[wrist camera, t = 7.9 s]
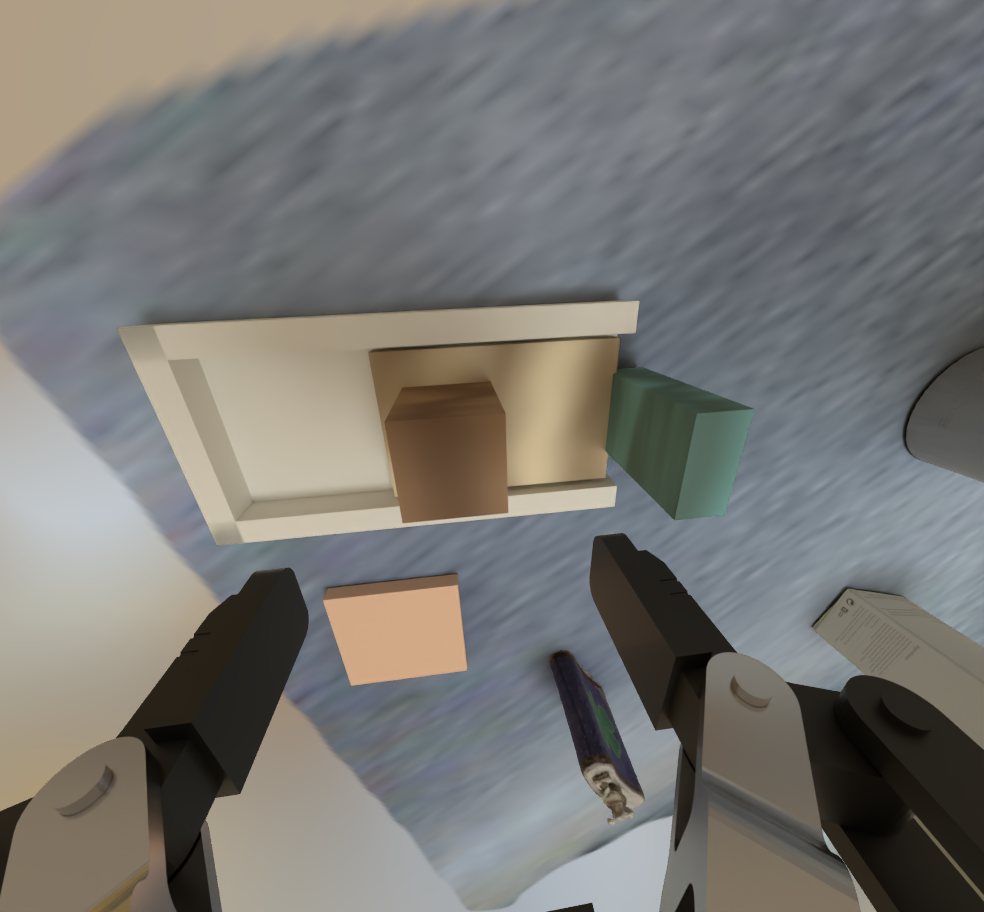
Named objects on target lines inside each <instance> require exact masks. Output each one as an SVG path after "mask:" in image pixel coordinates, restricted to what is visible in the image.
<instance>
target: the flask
mask: <svg viewBox="0 0 984 912" xmlns="http://www.w3.org/2000/svg"><path fill="white" fill-rule="evenodd" d="M549 662H550V666H551V669H552V672H553V674H554V678H555V681H556V684H557V687H558V690H559V694H560V698H561V701H562V704H563V707H564V711H565V715H566V719H567V722H568V725H569V728H570V732H571V735H572V739H573V742H574V746H575V749H576V753H577V757H578V761H579V765H580V768H581V772H582V774H583V776H584V777H585V779H586V781H587V783H588V784H589V786H590V787H591V788H592V789H593V791H594V792H595V793H596V794H598V795H599V796H600V797H601V798H602V800H603V801H604V803H605V804H606V806H607V807H608V808H610V809H611V810H612V814H613V818H614V819H616V820H618V821H624V820H625V819H626V818H627V817H629V818H634V812H633V811H632V810H631V809H633V808H635V807H637V806H639V805H641V804H642V802H644V801H645V798H644V794H643V791H642V788H641V786H640V784H639V782H638V779H637V776H636V774H635V772H634V769H633V767H632V764H631V761H630V759H629V757H628V754H627V752H626V749H625V747H624V744H623V742H622V739H621V736H620V734H619V731H618V729H617V726H616V724H615V721H614V718H613V715H612V713H611V710H610V707H609V705H608V703H607V700H606V696H605V694H604V692H603V690H602V689H601V687H600V684H599V683H597V684H596V683H595V682H594V680H593V679H592V676H591V675H590V673H588V671H585V670H582V668H581V666H582V665H579V664H578V663H577V659H575V657H574V656H573V654H572V653H571V652H568V651H567V652H566V651H562V650H560V651H559V652H557V653H555V654H553V655H552V656H551V657H550V661H549ZM608 824H609V825H612V824H613V825H615V820H613V819H608Z"/></svg>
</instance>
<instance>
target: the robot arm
mask: <svg viewBox="0 0 984 912" xmlns="http://www.w3.org/2000/svg"><path fill="white" fill-rule="evenodd" d="M906 441H907V446H908V449H909V450H910V452H911V454H912V455H913V456H915V457H916V458H917V459H919V460H922V461H925V462H927V463H930V464H933V465H936V466H939V467H942V468H944V469H947V470H950V471H953V472H956V473H959V474H961V475H964V476H967V477H970V478H973V479H976V480H978V481H981V482H984V348H981V349H978V350H976V351H974V352H972V353H970V354H968V355H966V356H964V357H963V358H961V359H960V360H959V361H957V362H956V363H954V364H953V365H951V366H950V367H949V368H948V369H947V370H945V371H944V372H943V373H942V374H941V375H940V376H939V377H938V378H937V379H936V380H935V381H934V382H933V383H932V384H931V385H930V386H929V388H928V389H927V390H926V391H925V392H924V394H923V395H922V397H921V398H920V400H919V401H918V403H917V404H916V406H915V408H914V410H913V412H912V414H911V416H910V420H909V423H908V426H907V433H906ZM590 589H591V593H592V597H593V600H594V602H595V604H596V607H597V609H598V611H599V613H600V615H601V617H602V619H603V621H604V623H605V625H606V627H607V630H608V632H609V634H610V636H611V638H612V640H613V642H614V644H615V646H616V648H617V651H618V653H619V655H620V657H621V659H622V661H623V663H624V665H625V667H626V669H627V672H628V674H629V676H630V678H631V680H632V682H633V684H634V686H635V688H636V690H637V693H638V695H639V697H640V699H641V701H642V703H643V705H644V707H645V709H646V711H647V714H648V716H649V718H650V720H651V722H652V724H653V726H654V728H655V730H662V729H669V728H674V730H675V732H676V734H677V736H678V738H679V740H680V742H681V745H680V749H679V758H678V768H677V778H676V789H675V799H674V809H673V820H672V831H671V840H670V850H669V858H668V865H667V870H666V875H665V879H664V885H663V890H662V896H661V904H660V911H659V912H861V911H860V906H859V902H858V898H857V894H856V890H855V887H854V884H853V880H852V878H851V875H850V873H849V871H848V869H847V867H848V868H849V870H850V871H851V873H852V875H853V876H854V878H855V879H856V881H857V882H858V884H859V885H860V887H861V888H862V889H863V891H864V893H865V894H866V896H867V897H868V899H869V900H870V902H871V903H872V905H873V906H874V908H875V910H876V911H877V912H984V901H983V900H982V899H981V897H980V896H979V895H978V894H977V893H976V891H975V890H974V889H973V888H972V887H971V885H970V884H969V883H968V882H967V881H966V880H965V878H964V877H963V876H962V875H961V874H960V872H959V871H958V870H957V869H956V868H955V866H954V865H953V864H952V863H951V862H950V861H949V859H948V858H947V857H946V856H945V855H944V853H943V852H942V851H941V850H940V849H939V848H938V846H937V845H936V844H935V843H934V842H933V840H932V839H931V838H930V837H929V836H928V834H927V833H926V832H925V831H924V830H923V829H922V827H921V826H920V825H919V824H918V823H917V821H916V820H915V819H914V818H913V817H914V816H915V815H916V816H917V817H918V819H919V820H920V821H921V822H922V823H923V824H924V826H925V827H926V828H927V829H928V830H929V832H930V833H931V834H932V835H933V836H934V837H935V839H936V840H937V841H938V842H939V843H940V844H941V846H942V847H943V848H944V849H945V850H946V851H947V853H948V854H949V855H950V856H951V857H952V859H953V860H954V861H955V862H956V863H957V864H958V866H959V867H960V868H961V869H962V870H963V871H964V873H965V874H966V875H967V876H968V877H969V879H970V880H971V881H972V882H973V883H974V884H975V886H976V887H977V888H978V889H979V890H980V891H981V893H982V894H983V895H984V749H982V748H981V747H980V746H979V745H978V744H977V743H976V742H975V741H973V740H972V739H971V738H970V737H969V736H968V735H967V734H966V733H964V732H963V731H962V730H961V729H960V728H959V727H958V726H957V725H955V724H954V723H953V722H952V721H951V720H950V719H949V718H948V717H947V716H945V715H944V714H943V713H942V712H941V711H940V710H938V709H937V708H936V707H935V706H933V705H932V704H931V703H929V702H928V701H927V700H925V699H924V698H922V697H921V696H919V695H917V694H916V693H914V692H912V691H911V690H909V689H907V688H905V687H903V686H901V685H899V684H896V683H894V682H891V681H889V680H886V679H883V678H879V677H875V676H868V675H859V676H855V677H853V678H850V679H849V681H848V682H847V683H846V685H845V686H844V688H843V690H842V691H841V692H837V691H832V690H826V689H821V688H815V687H810V686H804V685H799V684H793V683H789V682H785V681H784V680H783V679H782V678H781V677H780V676H779V675H778V674H777V673H776V672H775V671H773V670H772V669H771V668H769V667H768V666H766V665H765V664H763V663H762V662H760V661H758V660H756V659H754V658H751V657H749V656H746V655H743V654H739V653H737V652H736V651H735V650H734V648H733V647H732V646H731V645H730V644H729V642H728V641H727V640H726V639H725V637H724V636H723V635H722V634H721V632H720V631H719V630H718V629H717V627H716V626H715V625H714V624H713V623H712V621H711V620H710V619H709V618H708V616H707V615H706V614H705V613H704V611H703V610H702V609H701V608H700V606H699V605H698V604H697V603H696V601H695V600H694V599H693V598H692V596H691V595H688V593H687V590H686V589H685V588H684V587H683V585H682V584H681V583H680V582H679V581H677V578H676V577H675V575H674V574H673V573H672V572H671V570H670V569H669V568H668V567H667V565H666V564H665V563H664V562H663V561H661V560H660V559H658V558H657V557H655V556H654V555H652V554H651V553H650V552H648V551H647V550H643V551H638V550H637V549H636V548H635V546H634V545H633V544H632V542H631V541H630V540H629V538H628V537H627V536H626V535H625V534H623V533H619V534H610V535H601V536H596V537H595V538H594V541H593V550H592V560H591V569H590ZM308 622H309V616H308V610H307V607H306V604H305V601H304V599H303V596H302V593H301V590H300V587H299V585H298V582H297V579H296V576H295V574H294V572H293V570H292V569H291V568H280V569H271V570H261V571H256V572H254V573H253V574H252V575H251V576H250V578H249V579H248V581H247V582H246V584H245V585H244V586H243V588H242V589H241V591H240V592H239V594H237V595H231V596H230V597H229V598H227V599H226V600H225V601H224V602H223V603H221V604H220V605H219V606H218V607H217V608H215V609H214V610H213V611H212V612H211V613H209V615H208V616H207V617H206V619H205V620H204V621H203V623H202V624H201V625H200V627H199V628H198V630H197V631H196V632H195V633H194V638H193V639H190V640H189V642H188V643H187V644H186V646H185V647H184V648H183V650H182V651H181V655H180V657H177V658H176V659H175V660H174V662H173V663H172V664H171V666H170V667H169V668H168V670H167V671H166V672H165V674H164V675H163V676H162V678H161V679H160V680H159V682H158V683H157V684H156V686H155V687H154V688H153V690H152V691H151V693H150V694H149V695H148V696H147V698H146V699H145V700H144V702H143V703H142V704H141V706H140V707H139V709H138V710H137V711H136V713H135V714H134V715H133V717H132V718H131V719H130V721H129V722H128V723H127V725H126V726H125V727H124V729H123V730H122V731H121V732H120V734H119V735H118V736H117V737H116V739H113V740H109V741H107V742H104V743H102V744H100V745H98V746H96V747H94V748H92V749H90V750H88V751H87V752H85V753H83V754H82V755H80V756H79V757H77V758H76V759H75V760H73V761H72V762H70V763H69V764H68V765H66V766H65V767H64V768H63V769H61V770H60V771H59V772H58V773H57V774H56V775H54V776H53V777H52V778H51V779H50V780H49V781H48V782H47V783H46V784H45V785H44V786H43V787H42V788H41V789H40V790H39V792H38V793H37V794H36V795H35V796H34V797H33V798H30V799H28V800H26V801H23V802H21V803H19V804H16V805H14V806H12V807H9V808H7V809H5V810H2V811H0V912H222V908H221V902H220V896H219V889H218V883H217V876H216V870H215V864H214V857H213V851H212V844H211V838H210V832H209V827H208V823H207V822H206V820H205V819H206V817H207V815H208V812H209V810H210V808H211V806H212V804H213V802H214V799H215V798H217V797H224V796H230V795H237V794H240V793H241V791H242V788H243V786H244V783H245V781H246V778H247V776H248V774H249V771H250V769H251V767H252V764H253V762H254V759H255V757H256V754H257V752H258V750H259V747H260V745H261V742H262V740H263V738H264V735H265V733H266V730H267V728H268V726H269V723H270V721H271V718H272V716H273V714H274V711H275V709H276V706H277V704H278V702H279V699H280V697H281V694H282V692H283V690H284V687H285V685H286V682H287V680H288V678H289V675H290V673H291V670H292V668H293V666H294V663H295V661H296V658H297V656H298V654H299V651H300V649H301V646H302V644H303V641H304V639H305V637H306V634H307V630H308ZM821 827H822V828H821ZM822 829H823V830H824V832H825V833H826V835H827V836H828V838H829V839H830V841H831V842H832V844H833V846H834V847H835V849H836V850H837V852H838V853H839V855H840V856H841V857H842V859H843V861H844V862H845V863H844V862H843V861H842V859H841V858H840V857H839V856H837V855H835V854H834V853H832V852H830V850H829V849H828V847H827V845H826V843H825V840H824V837H823V833H822ZM845 864H846V865H847V867H846V865H845ZM548 912H594V908H593V905H592V903H588V904H584V905H579V906H573V907H568V908H563V909H559V910H553V911H548Z"/></svg>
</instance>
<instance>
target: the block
mask: <svg viewBox="0 0 984 912" xmlns="http://www.w3.org/2000/svg"><path fill="white" fill-rule="evenodd" d="M384 424H385V429H386V435H387V440H388V446H389V451H390V457H391V462H392V468H393V473H394V479H395V484H396V490H397V495H398V501H399V506H400V512H401V517H402V523H412V522H422V521H432V520H442V519H453V518H463V517H473V516H483V515H494V514H504V513H508V484H507V448H506V413H505V411H504V409H503V407H502V405H501V402H500V400H499V398H498V396H497V394H496V392H495V390H494V387H493V385H492V383H491V381H490V382H475V383H461V384H446V385H431V386H416V387H402V389H401V391H400V393H399V395H398V397H397V399H396V401H395V403H394V404H393V406H392V408H391V410H390V412H389V414H388V416H387V418H386V420H385V422H384Z"/></svg>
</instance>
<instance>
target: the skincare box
mask: <svg viewBox="0 0 984 912" xmlns="http://www.w3.org/2000/svg"><path fill="white" fill-rule="evenodd" d="M813 629H814V630H815V631H816V633H818V634H819V635H820V636H821V637H822V638H823V639H825V640H826V641H827V642H828V643H829V644H830V645H832V646H833V647H834V648H835V649H836V650H837V651H839V652H840V653H841V654H842V655H843V656H844V657H846V658H847V659H848V660H849V661H850V662H851V663H853V664H854V665H855V666H856V667H857V668H858V669H859V670H861V671H862V672H863V673H864V674H865V675H868V676H875V677H879V678H883V679H886V680H889V681H891V682H894V683H896V684H899V685H901V686H903V687H905V688H907V689H909V690H911V691H912V692H914V693H916V694H917V695H919V696H921V697H922V698H924V699H925V700H927V701H928V702H929V703H931V704H932V705H933V706H935V707H936V708H937V709H938V710H940V711H941V712H942V713H943V714H944V715H945V716H947V717H948V718H949V719H950V720H951V721H952V722H953V723H954V724H955V725H957V726H958V727H959V728H960V729H961V730H962V731H963V732H964V733H966V734H967V735H968V736H969V737H970V738H971V739H972V740H973V741H975V742H976V743H977V744H978V745H979V746H980V747H981V748H982V749H984V648H983V647H982V646H980V645H979V644H977V643H976V642H974V641H972V640H971V639H969V638H968V637H966V636H964V635H963V634H961V633H960V632H958V631H957V630H955V629H953V628H952V627H950V626H949V625H947V624H945V623H944V622H942V621H941V620H939V619H938V618H936V617H934V616H933V615H931V614H930V613H928V612H927V611H925V610H923V609H922V608H920V607H919V606H917V605H915V604H914V603H912V602H911V601H909V600H908V599H906V598H905V597H902V596H895V595H888V594H881V593H875V592H868V591H860V590H854V589H847V590H846V591H845V592H844V593H843V594H842V595H841V597H840V598H839V600H838V601H837V602H836V603H835V604H834V605H833V606H832V607H831V608H830V609H829V610H828V611H827V612H826V613H825V614H824V615H823V616H822V617H821V618H820V619H819V621H818V622H817V623H816V624H815V625H814V627H813Z"/></svg>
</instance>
